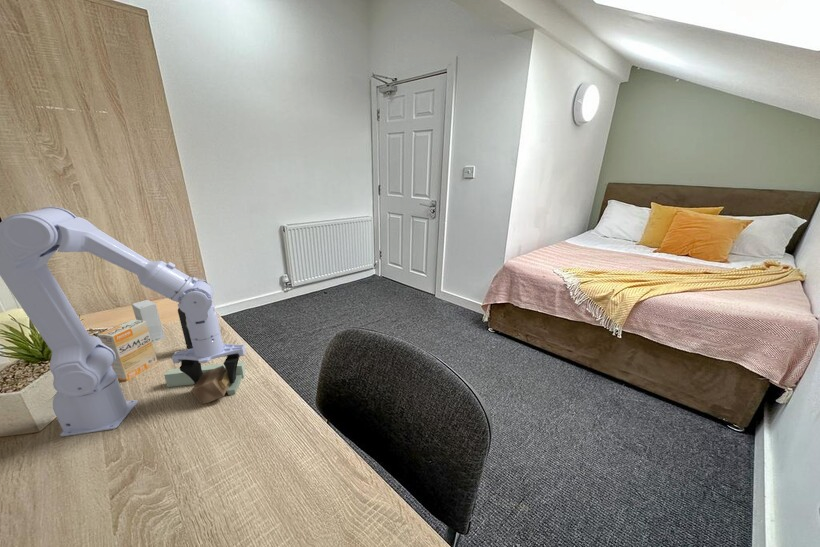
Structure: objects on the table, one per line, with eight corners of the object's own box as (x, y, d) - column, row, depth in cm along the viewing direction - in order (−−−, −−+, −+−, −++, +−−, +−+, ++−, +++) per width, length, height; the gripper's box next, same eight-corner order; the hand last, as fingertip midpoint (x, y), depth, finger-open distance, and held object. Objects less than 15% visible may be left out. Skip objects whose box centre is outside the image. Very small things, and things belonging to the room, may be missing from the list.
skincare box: (166, 338, 95) (156, 303, 91) (149, 344, 92) (138, 309, 88) (157, 333, 98) (147, 299, 94) (141, 338, 95) (130, 303, 91)
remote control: (191, 355, 87) (178, 308, 82) (188, 353, 88) (175, 306, 83) (209, 347, 91) (198, 301, 86) (206, 345, 92) (195, 300, 87)
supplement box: (127, 382, 76) (111, 336, 72) (112, 379, 77) (95, 334, 73) (159, 362, 84) (146, 320, 79) (145, 360, 85) (131, 318, 80)
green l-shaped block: (154, 405, 69) (150, 392, 68) (171, 382, 76) (168, 369, 75) (237, 394, 73) (234, 381, 72) (246, 373, 80) (243, 361, 79)
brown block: (191, 390, 68) (216, 380, 68) (202, 373, 73) (226, 364, 74) (202, 404, 70) (227, 394, 70) (213, 386, 75) (235, 377, 76)
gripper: (159, 347, 64) (174, 399, 68) (235, 339, 67) (245, 389, 72) (175, 330, 70) (188, 378, 75) (244, 324, 73) (252, 371, 78)
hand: (217, 382), depth 74 cm, fingers closed on brown block, 6 cm apart
